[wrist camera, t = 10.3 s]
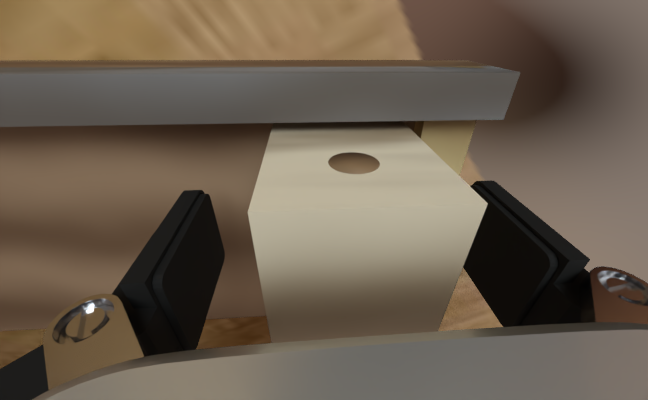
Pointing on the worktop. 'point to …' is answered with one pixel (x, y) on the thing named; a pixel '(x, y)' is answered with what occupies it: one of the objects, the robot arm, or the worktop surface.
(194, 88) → the board
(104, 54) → the worktop surface
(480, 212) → the block with top hole
